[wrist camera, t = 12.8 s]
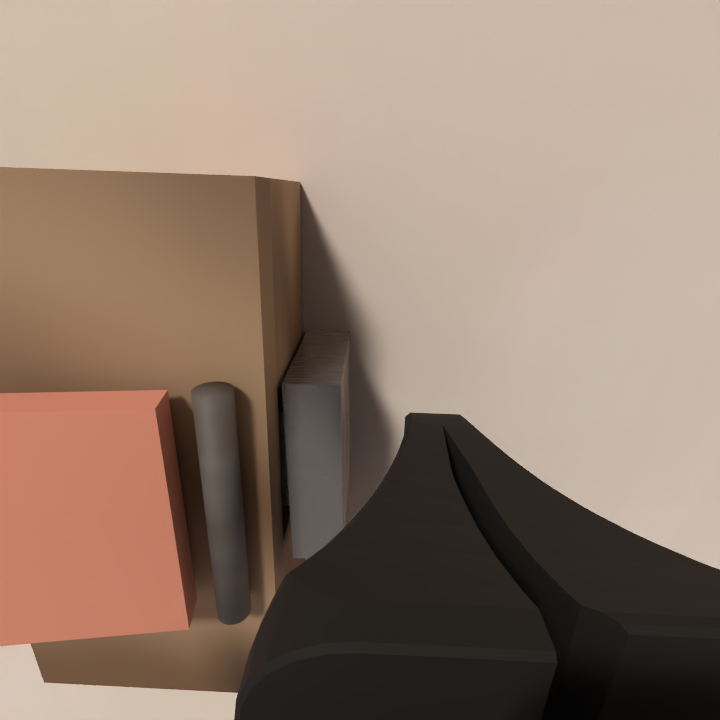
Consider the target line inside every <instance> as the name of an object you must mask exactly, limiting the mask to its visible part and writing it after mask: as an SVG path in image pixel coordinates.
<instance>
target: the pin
mask: <svg viewBox="0 0 720 720" xmlns="http://www.w3.org/2000/svg"><path fill="white" fill-rule="evenodd" d="M278 415H279V441H280V466H281V492H282V505H290V520H291V536H292V551H293V558H304V559H308V558H310V557H311V556H312V555H314V554H315V553H316V552H318V551H319V550H320V549H322V548H323V547H324V546H325V545H326V544H327V543H329V542H330V541H331V540H332V539H333V538H334V537H335V536H336V535H337V534H338V533H339V532H340V531H341V530H342V529H343V528H344V527H345V526H346V514H347V502H348V490H349V478H350V332H306V334H305V336H304V338H303V340H302V342H301V344H300V346H299V349H298V351H297V353H296V355H295V357H294V359H293V361H291V362H290V364H289V366H288V368H287V370H286V372H285V375H284V377H283V379H282V381H281V383H280V385H279V387H278Z"/></svg>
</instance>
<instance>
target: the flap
mask: <svg viewBox="0 0 720 720" xmlns="http://www.w3.org/2000/svg"><path fill="white" fill-rule="evenodd" d="M196 601H197V595H196V588H195V581H194V574H193V567H192V560H191V552H190V545H189V538H188V531H187V524H186V517H185V510H184V502H183V495H182V488H181V481H180V474H179V467H178V460H177V452H176V445H175V438H174V431H173V424H172V417H171V410H170V402H169V395H168V390H137V391H88V392H39V393H0V646H6V645H18V644H29V643H41V642H52V641H64V640H75V639H87V638H98V637H110V636H121V635H133V634H144V633H156V632H167V631H179V630H189V628H190V625H191V621H192V617H193V613H194V609H195V605H196Z"/></svg>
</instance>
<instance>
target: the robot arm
mask: <svg viewBox="0 0 720 720" xmlns="http://www.w3.org/2000/svg"><path fill="white" fill-rule="evenodd" d="M234 720H720V570H719V569H716V568H713V567H711V566H708V565H705V564H703V563H700V562H698V561H695V560H693V559H691V558H688V557H686V556H684V555H681V554H679V553H677V552H674V551H672V550H670V549H667V548H665V547H663V546H660V545H658V544H656V543H653V542H651V541H649V540H647V539H645V538H643V537H641V536H638V535H636V534H634V533H632V532H630V531H628V530H626V529H624V528H622V527H620V526H618V525H616V524H614V523H612V522H610V521H608V520H607V519H605V518H603V517H601V516H599V515H597V514H595V513H593V512H591V511H590V510H588V509H586V508H584V507H582V506H581V505H579V504H577V503H576V502H574V501H573V500H571V499H569V498H568V497H566V496H564V495H563V494H561V493H560V492H558V491H556V490H555V489H553V488H552V487H550V486H549V485H547V484H546V483H544V482H543V481H541V480H540V479H538V478H537V477H536V476H534V475H533V474H531V473H530V472H529V471H527V470H526V469H525V468H523V467H522V466H521V465H519V464H518V463H517V462H515V461H514V460H513V459H512V458H510V457H509V456H508V455H507V454H505V453H504V452H503V451H502V450H500V449H499V448H498V447H497V446H496V445H495V444H493V443H492V442H491V441H490V440H489V439H488V438H486V437H485V436H484V435H483V434H482V433H481V432H480V431H478V430H477V429H476V428H475V427H474V426H473V425H472V424H471V423H469V422H468V421H467V420H466V419H465V418H463V417H462V416H461V415H455V414H430V413H409V414H408V415H407V416H406V417H405V429H404V437H403V440H402V443H401V445H400V448H399V451H398V453H397V455H396V457H395V459H394V461H393V463H392V465H391V467H390V469H389V471H388V473H387V474H386V476H385V478H384V479H383V481H382V483H381V484H380V486H379V487H378V489H377V490H376V491H375V493H374V494H373V496H372V497H371V498H370V499H369V501H368V502H367V503H366V504H365V506H364V507H363V508H362V509H361V510H360V512H359V513H358V514H357V515H356V516H355V517H354V518H353V520H352V521H351V522H350V523H349V524H348V525H347V526H345V527H344V528H343V529H342V530H341V531H340V532H339V533H338V534H337V535H336V536H335V537H334V538H333V539H332V540H331V541H330V542H329V543H327V544H326V545H325V546H324V547H323V548H322V549H320V550H319V551H318V552H316V553H315V554H314V555H312V556H311V557H310V558H308V559H307V560H306V561H304V562H303V563H302V564H300V565H299V566H298V567H296V568H295V569H294V570H292V571H291V572H289V573H288V574H286V575H285V577H284V579H283V581H282V582H281V584H280V586H279V588H278V590H277V592H276V593H275V595H274V597H273V599H272V601H271V603H270V605H269V607H268V609H267V611H266V613H265V615H264V618H263V620H262V622H261V624H260V627H259V629H258V632H257V634H256V637H255V639H254V642H253V644H252V647H251V649H250V652H249V655H248V659H247V662H246V666H245V669H244V673H243V677H242V680H241V684H240V688H239V691H238V695H237V699H236V708H235V719H234Z"/></svg>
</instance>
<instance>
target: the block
mask: <svg viewBox="0 0 720 720" xmlns="http://www.w3.org/2000/svg"><path fill="white" fill-rule="evenodd" d="M302 337H303V331H302V264H301V197H300V182H294V181H286V180H279V179H271V178H263V177H256V176H231V175H203V174H175V173H148V172H120V171H92V170H64V169H36V168H8V167H0V393H39V392H88V391H137V390H168V395H169V402H170V410H171V417H172V424H173V431H174V438H175V445H176V452H177V460H178V467H179V474H180V481H181V488H182V495H183V502H184V510H185V517H186V524H187V531H188V538H189V545H190V552H191V560H192V567H193V574H194V581H195V588H196V595H197V601H196V605H195V609H194V613H193V617H192V621H191V625H190V628H189V630H179V631H167V632H156V633H144V634H133V635H121V636H110V637H98V638H87V639H75V640H64V641H52V642H41V643H31V646H32V649H33V651H34V654H35V657H36V660H37V663H38V666H39V669H40V672H41V674H42V677H43V680H44V682H46V683H65V684H84V685H103V686H122V687H141V688H160V689H178V690H197V691H216V692H235V693H238V691H239V688H240V684H241V680H242V677H243V673H244V669H245V666H246V662H247V659H248V655H249V652H250V649H251V647H252V644H253V642H254V639H255V637H256V634H257V632H258V629H259V627H260V624H261V622H262V620H263V618H264V615H265V613H266V611H267V609H268V607H269V605H270V603H271V601H272V599H273V597H274V595H275V593H276V592H277V590H278V588H279V586H280V584H281V582H282V581H283V579H284V577H285V575H286V574H288V573H289V572H291V571H292V570H294V569H295V568H296V567H298V566H299V565H300V564H302V563H303V562H304V561H305V559H304V558H293V551H292V536H291V520H290V505H282V492H281V466H280V441H279V415H278V387H279V385H280V383H281V381H282V379H283V377H284V375H285V372H286V370H287V368H288V366H289V364H290V362H291V360H292V358H293V356H294V354H295V352H296V350H297V348H298V346H299V344H300V342H301V340H302Z"/></svg>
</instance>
